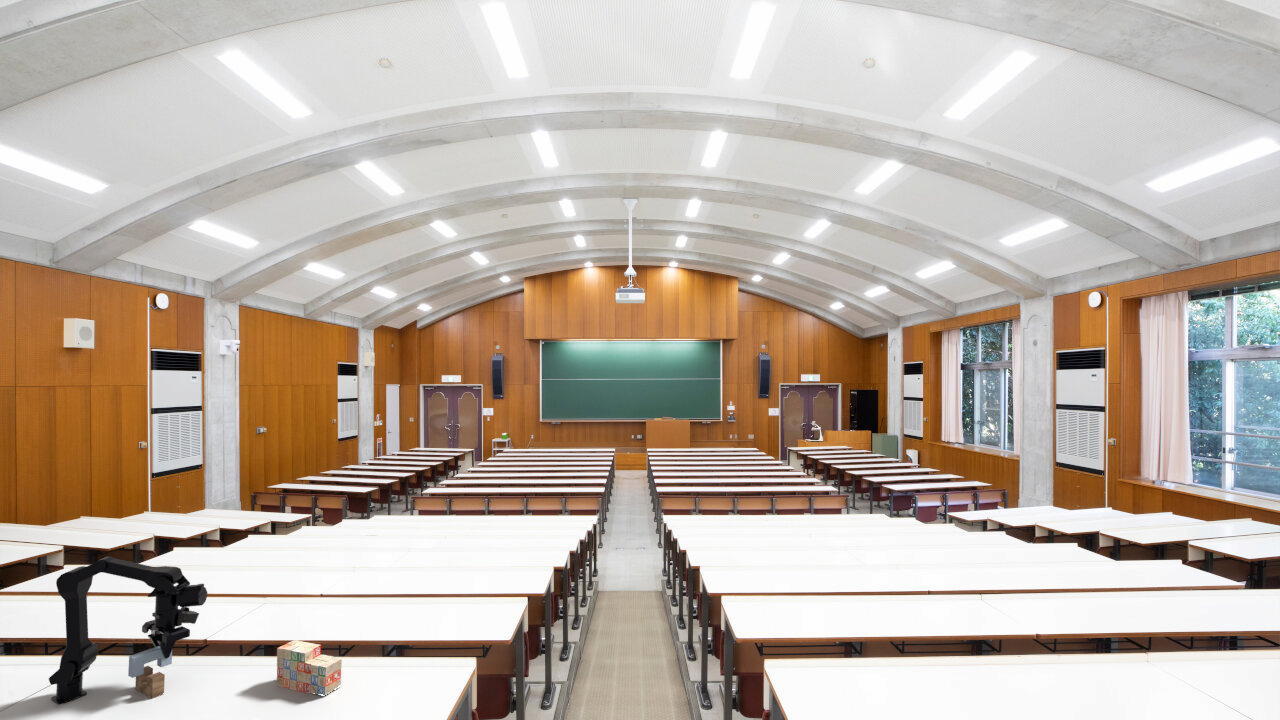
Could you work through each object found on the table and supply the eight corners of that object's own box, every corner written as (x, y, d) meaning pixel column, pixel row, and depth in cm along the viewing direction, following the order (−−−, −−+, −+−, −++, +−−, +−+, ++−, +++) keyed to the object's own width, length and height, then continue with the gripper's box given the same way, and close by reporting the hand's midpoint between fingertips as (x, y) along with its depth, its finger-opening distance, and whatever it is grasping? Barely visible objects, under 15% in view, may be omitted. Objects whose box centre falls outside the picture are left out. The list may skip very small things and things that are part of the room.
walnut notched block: (135, 688, 177) (136, 669, 177) (147, 684, 180) (147, 665, 180) (152, 698, 171) (152, 679, 172) (163, 693, 174) (164, 674, 174)
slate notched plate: (132, 677, 171) (133, 658, 171) (128, 675, 172) (129, 656, 172) (171, 663, 179) (172, 645, 180) (167, 661, 181) (168, 643, 181)
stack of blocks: (341, 687, 178) (342, 648, 178) (324, 698, 172) (325, 657, 172) (293, 676, 185) (294, 639, 185) (275, 685, 179) (276, 647, 179)
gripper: (209, 604, 182) (207, 652, 182) (182, 594, 191) (181, 640, 191) (168, 617, 173) (166, 667, 172) (142, 606, 182) (140, 654, 181)
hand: (164, 656), depth 179 cm, fingers closed on slate notched plate, 3 cm apart
